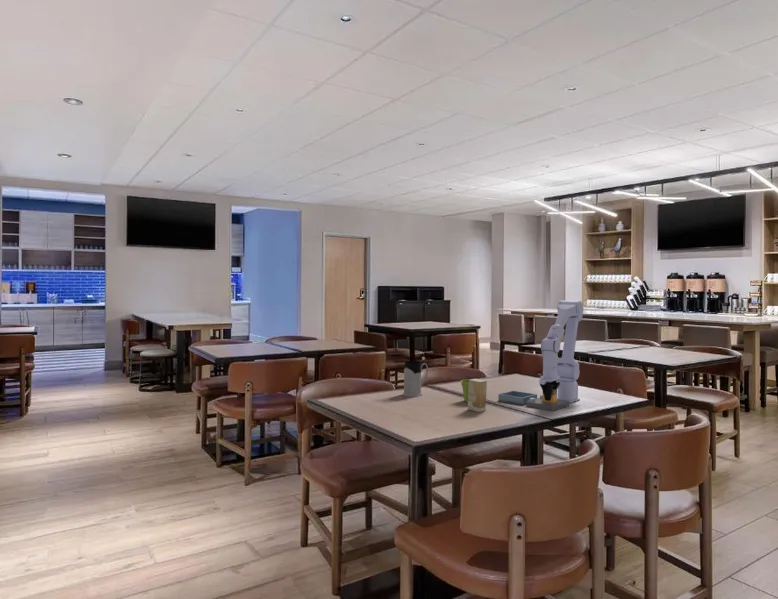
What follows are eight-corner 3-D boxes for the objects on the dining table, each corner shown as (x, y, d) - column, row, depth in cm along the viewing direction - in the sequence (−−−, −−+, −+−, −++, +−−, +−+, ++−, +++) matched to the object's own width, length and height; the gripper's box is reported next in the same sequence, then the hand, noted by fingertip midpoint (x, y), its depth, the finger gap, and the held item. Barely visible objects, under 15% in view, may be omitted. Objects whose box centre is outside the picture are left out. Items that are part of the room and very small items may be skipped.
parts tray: (512, 397, 247) (513, 390, 247) (537, 401, 238) (537, 394, 238) (498, 400, 238) (498, 394, 238) (522, 405, 230) (523, 398, 230)
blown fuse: (545, 404, 231) (546, 387, 230) (556, 406, 227) (557, 389, 227) (542, 405, 228) (542, 388, 228) (553, 407, 225) (553, 390, 225)
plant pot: (472, 404, 230) (472, 383, 230) (455, 400, 238) (456, 380, 238) (486, 401, 236) (486, 381, 236) (470, 398, 244) (470, 378, 243)
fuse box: (542, 401, 238) (542, 394, 238) (568, 405, 229) (568, 398, 229) (526, 406, 228) (526, 398, 228) (552, 410, 219) (552, 402, 219)
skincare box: (467, 409, 220) (467, 379, 220) (474, 408, 223) (474, 378, 223) (479, 412, 215) (479, 381, 215) (486, 410, 218) (487, 380, 218)
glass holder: (398, 394, 251) (399, 361, 250) (420, 390, 260) (420, 359, 260) (412, 397, 244) (412, 363, 244) (434, 393, 254) (434, 361, 253)
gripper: (549, 364, 235) (549, 395, 236) (532, 367, 225) (532, 400, 225) (565, 366, 231) (564, 398, 231) (548, 369, 220) (548, 403, 220)
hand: (549, 399), depth 228 cm, fingers closed on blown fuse, 3 cm apart
